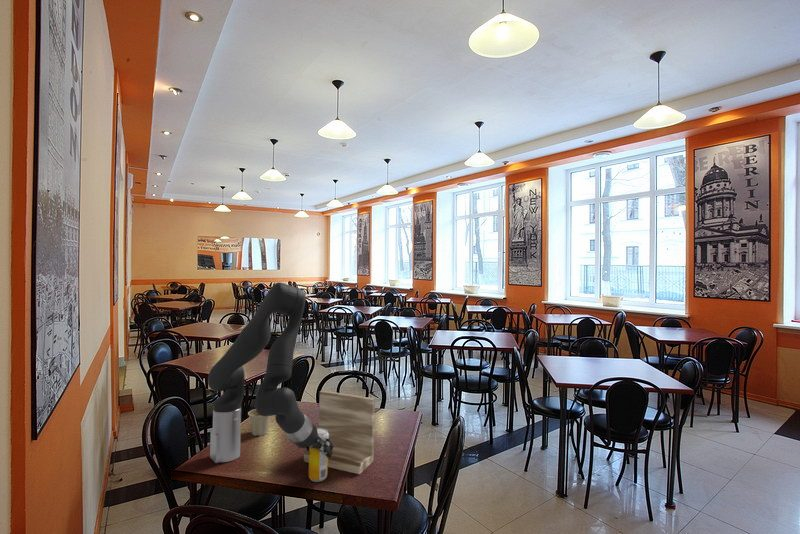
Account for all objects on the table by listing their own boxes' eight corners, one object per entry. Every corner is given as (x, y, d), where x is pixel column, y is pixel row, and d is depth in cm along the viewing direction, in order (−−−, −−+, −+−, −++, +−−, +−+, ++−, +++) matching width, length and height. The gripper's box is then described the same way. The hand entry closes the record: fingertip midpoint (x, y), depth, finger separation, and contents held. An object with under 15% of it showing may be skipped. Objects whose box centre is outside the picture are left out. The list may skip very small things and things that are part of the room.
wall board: (359, 474, 134) (360, 407, 135) (303, 461, 143) (305, 398, 143) (373, 460, 144) (374, 398, 145) (320, 449, 153) (322, 390, 153)
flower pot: (242, 435, 164) (242, 414, 164) (257, 427, 173) (258, 406, 173) (261, 439, 161) (262, 417, 161) (276, 430, 170) (276, 409, 170)
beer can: (319, 471, 136) (320, 426, 136) (331, 477, 132) (332, 431, 132) (304, 478, 131) (305, 431, 131) (316, 484, 127) (317, 436, 128)
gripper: (325, 421, 122) (345, 445, 133) (286, 414, 128) (308, 438, 139) (315, 445, 117) (336, 469, 128) (274, 437, 123) (298, 460, 134)
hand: (321, 452), depth 133 cm, fingers closed on beer can, 6 cm apart
